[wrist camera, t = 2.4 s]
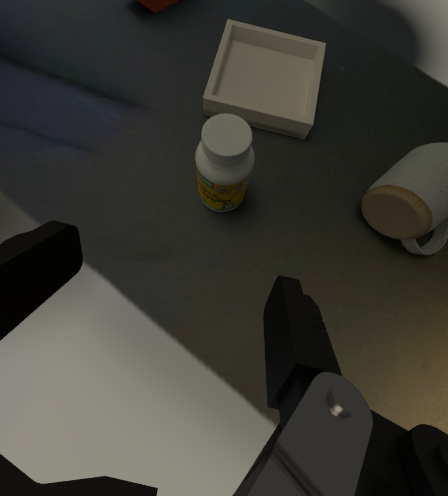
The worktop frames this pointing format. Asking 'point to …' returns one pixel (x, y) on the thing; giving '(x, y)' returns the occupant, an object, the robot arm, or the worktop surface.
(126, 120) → the worktop surface
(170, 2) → the french fries container
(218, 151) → the supplement bottle
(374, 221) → the ceramic mug
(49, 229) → the robot arm
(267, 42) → the tray
